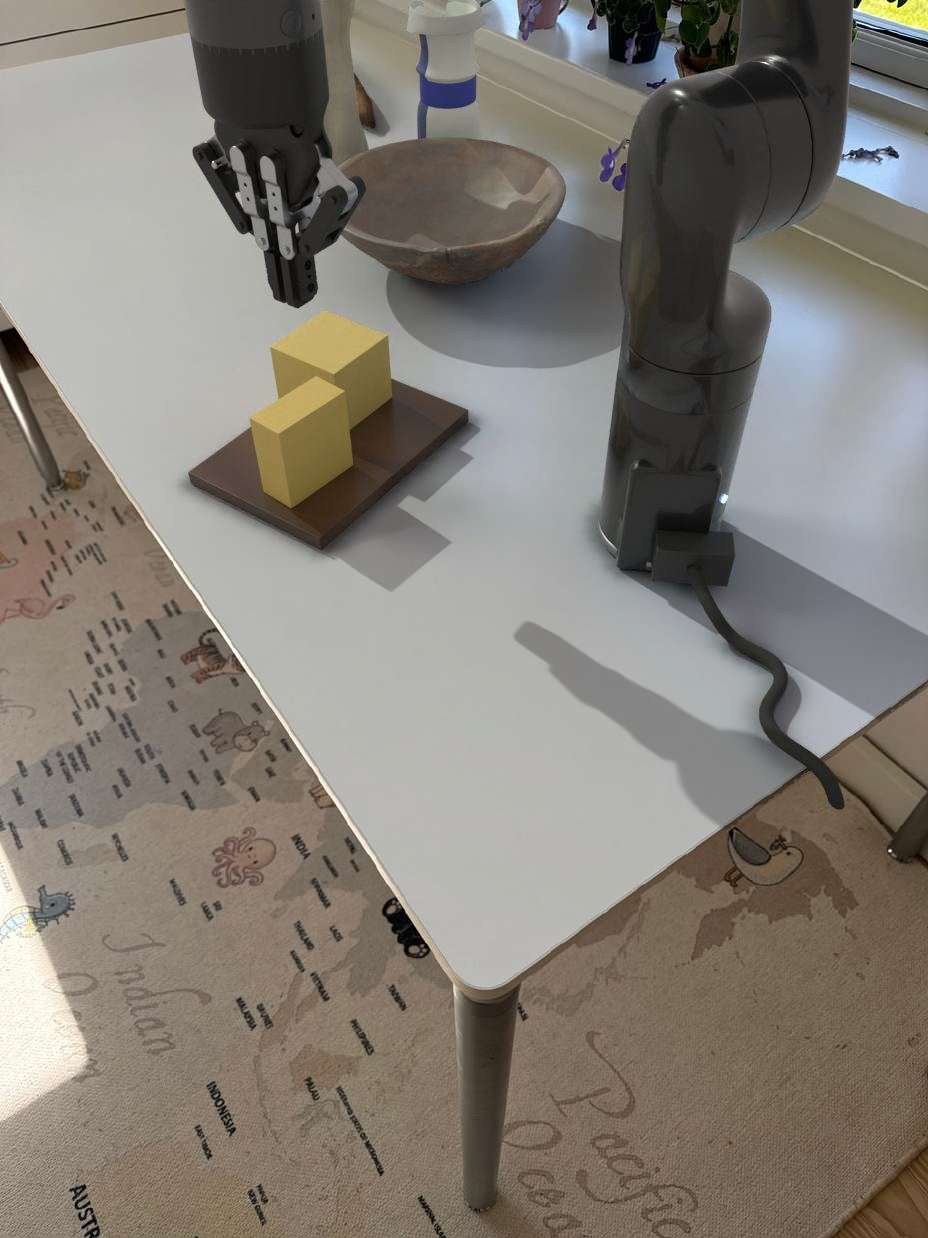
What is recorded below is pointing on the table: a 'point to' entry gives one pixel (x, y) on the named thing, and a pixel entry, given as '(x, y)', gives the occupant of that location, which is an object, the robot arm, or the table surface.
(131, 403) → the table surface
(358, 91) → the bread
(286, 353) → the butter block
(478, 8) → the water bottle
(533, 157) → the bowl
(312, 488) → the butter slice
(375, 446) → the butter board
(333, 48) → the vase
